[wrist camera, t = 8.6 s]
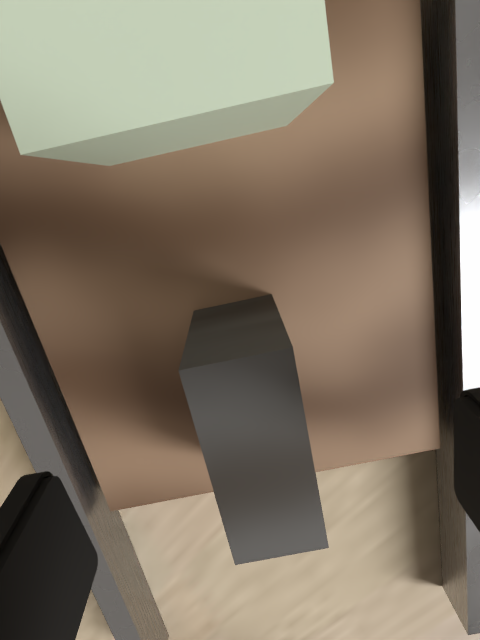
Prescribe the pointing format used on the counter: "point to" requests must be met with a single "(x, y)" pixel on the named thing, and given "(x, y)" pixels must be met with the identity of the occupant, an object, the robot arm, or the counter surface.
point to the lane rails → (450, 335)
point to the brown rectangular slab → (246, 295)
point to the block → (156, 73)
